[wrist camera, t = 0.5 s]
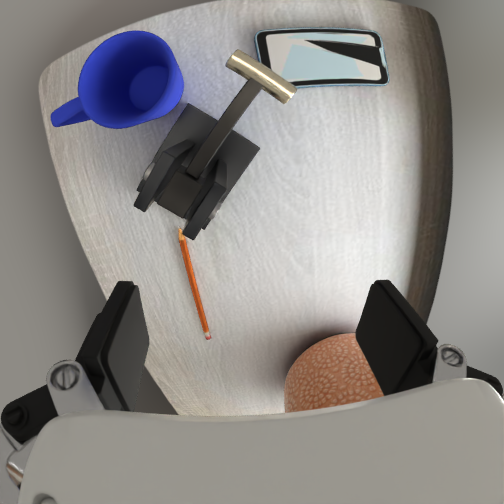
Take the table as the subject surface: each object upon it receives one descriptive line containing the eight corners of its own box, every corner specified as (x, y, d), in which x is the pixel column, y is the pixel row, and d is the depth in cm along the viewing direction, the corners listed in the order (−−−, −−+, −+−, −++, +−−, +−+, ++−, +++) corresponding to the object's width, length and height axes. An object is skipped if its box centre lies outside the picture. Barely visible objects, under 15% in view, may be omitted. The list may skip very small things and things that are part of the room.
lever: (237, 53, 16) (238, 45, 14) (293, 89, 18) (301, 86, 16) (148, 186, 20) (139, 194, 18) (202, 217, 22) (199, 229, 20)
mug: (84, 88, 23) (35, 83, 15) (180, 45, 23) (161, 14, 14) (102, 149, 27) (57, 164, 18) (200, 110, 27) (188, 104, 18)
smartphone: (253, 30, 22) (379, 31, 22) (252, 33, 23) (376, 32, 23) (265, 91, 26) (390, 86, 25) (264, 92, 26) (386, 86, 26)
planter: (400, 309, 42) (458, 392, 25) (364, 385, 51) (394, 458, 34) (282, 316, 40) (314, 433, 23) (267, 397, 49) (282, 485, 32)
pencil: (205, 336, 40) (205, 340, 40) (176, 225, 32) (175, 227, 32) (211, 336, 40) (211, 339, 40) (182, 223, 32) (181, 226, 32)
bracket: (189, 103, 26) (164, 92, 15) (259, 147, 29) (281, 165, 18) (139, 187, 30) (93, 230, 18) (204, 226, 33) (195, 287, 21)
